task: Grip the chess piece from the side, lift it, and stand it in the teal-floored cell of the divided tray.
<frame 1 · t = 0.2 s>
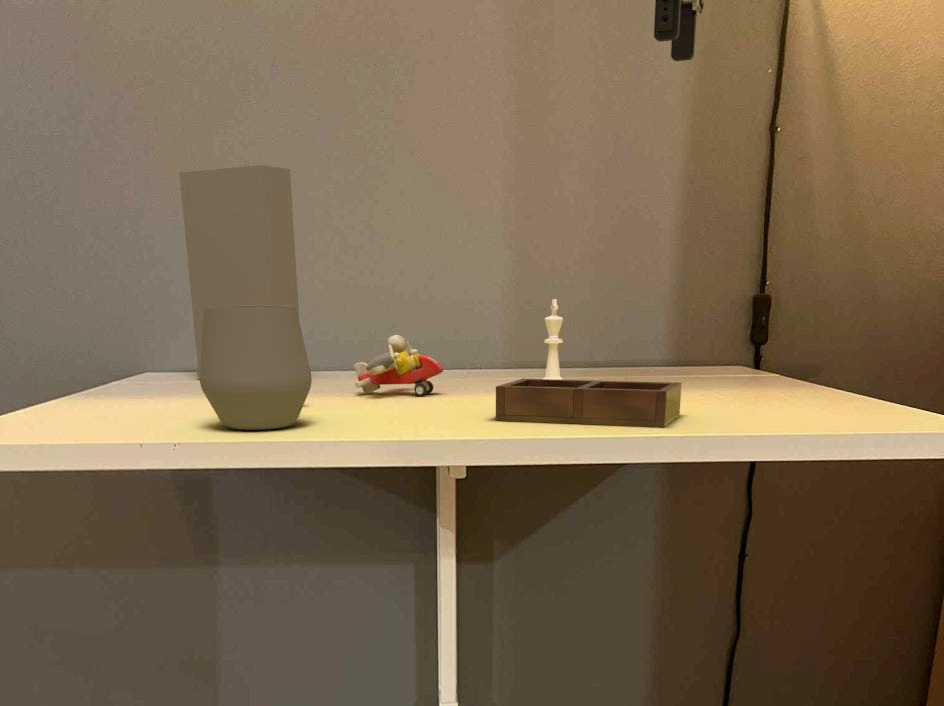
hand: (674, 50, 95), 33 cm above the table, tool pointing down, fingers open, 8 cm apart
chess piece: (552, 395, 110), on the table
cup: (259, 428, 86), on the table
toy airplane: (393, 396, 111), on the table
khaki block: (252, 380, 130), on the table
divided tray: (588, 418, 90), on the table
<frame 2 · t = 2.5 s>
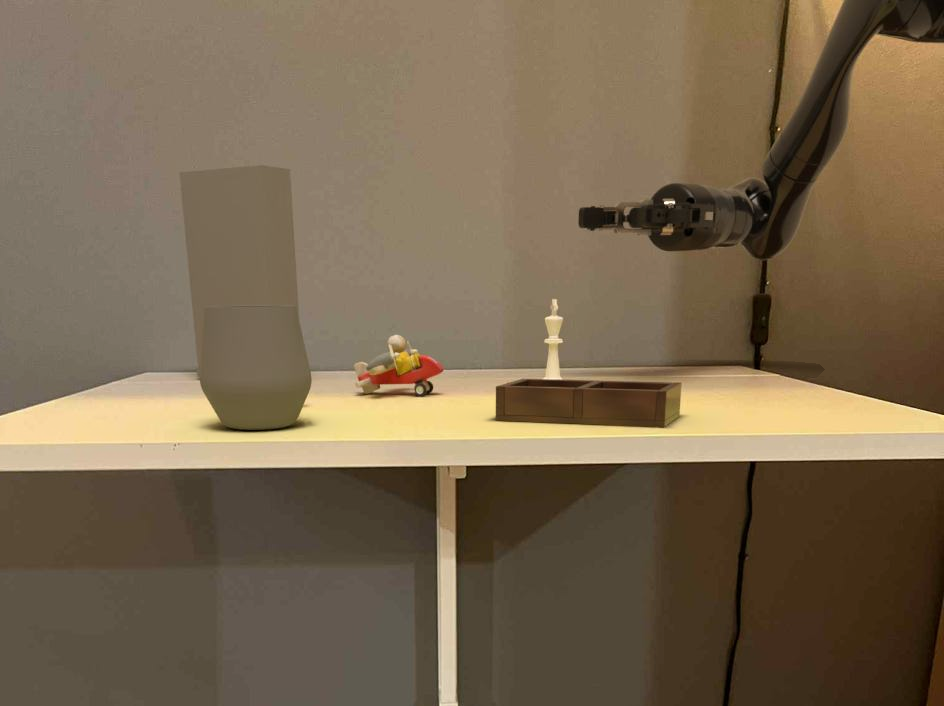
hand: (611, 216, 109), 19 cm above the table, tool horizontal, fingers open, 8 cm apart
nothing on the table moved.
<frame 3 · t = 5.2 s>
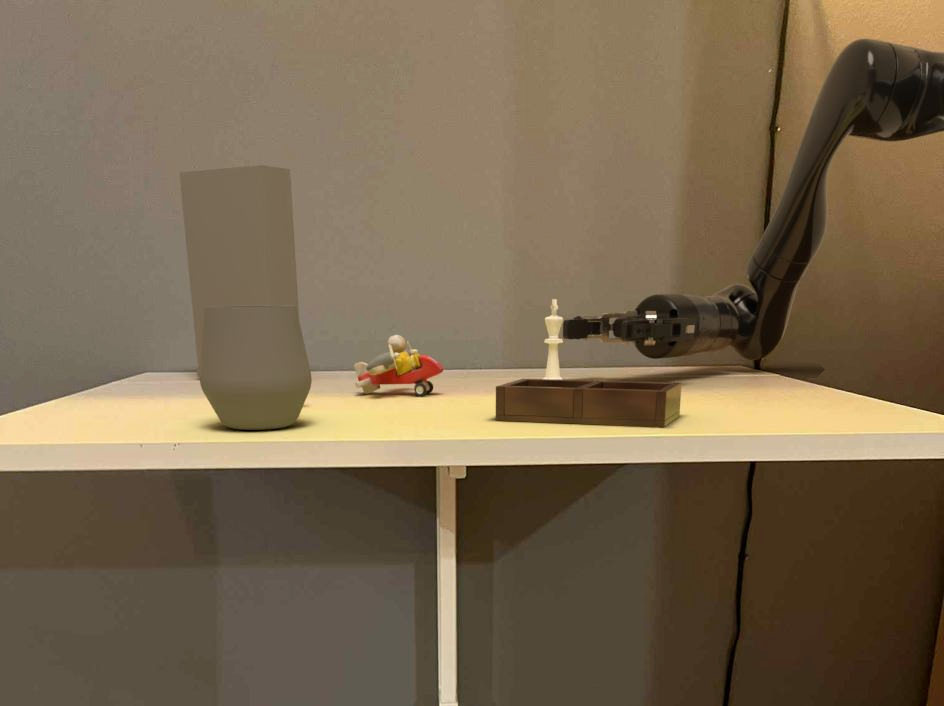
hand: (593, 330, 112), 7 cm above the table, tool horizontal, fingers open, 8 cm apart
nothing on the table moved.
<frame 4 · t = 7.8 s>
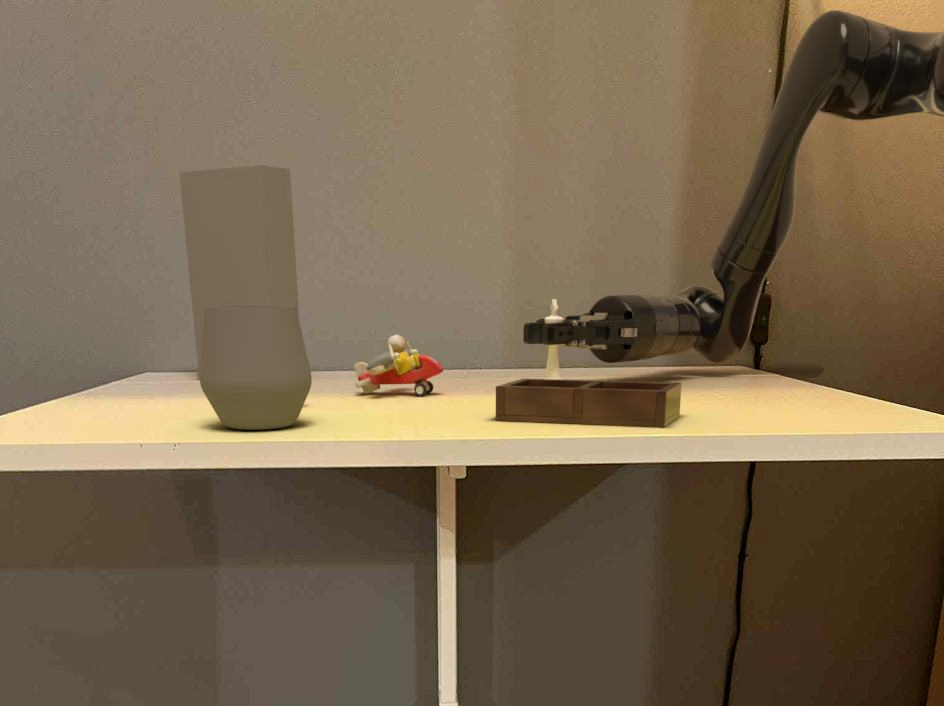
hand: (535, 334, 106), 7 cm above the table, tool horizontal, fingers closed on chess piece
chess piece: (552, 395, 110), on the table, touching gripper
everything else where it was.
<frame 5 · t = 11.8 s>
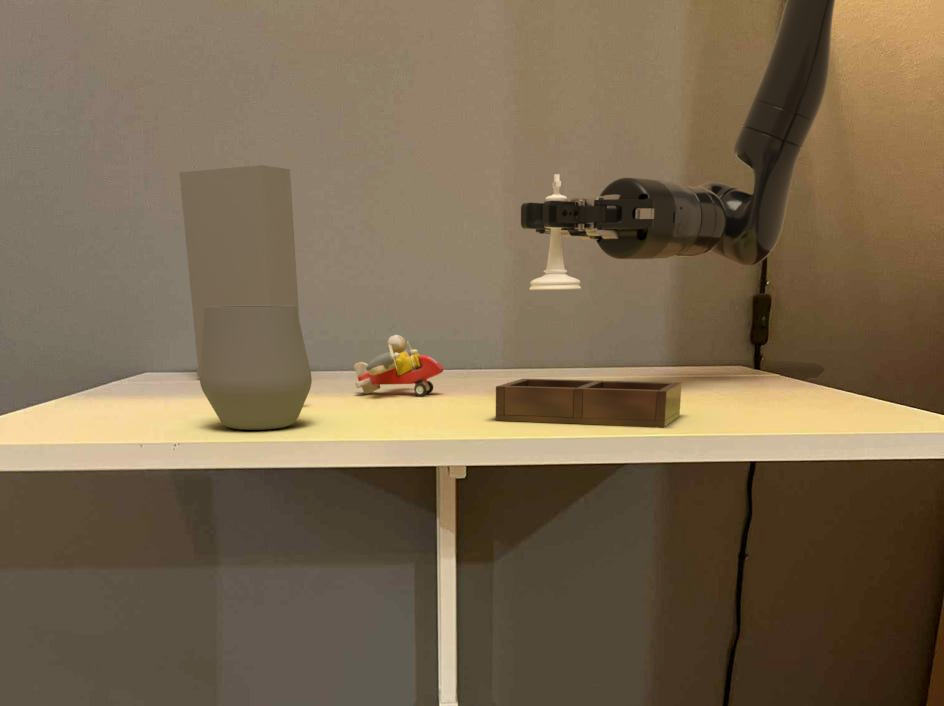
hand: (535, 214, 90), 18 cm above the table, tool horizontal, fingers closed on chess piece
chess piece: (555, 291, 94), point 11 cm above the table, touching gripper
everything else where it was.
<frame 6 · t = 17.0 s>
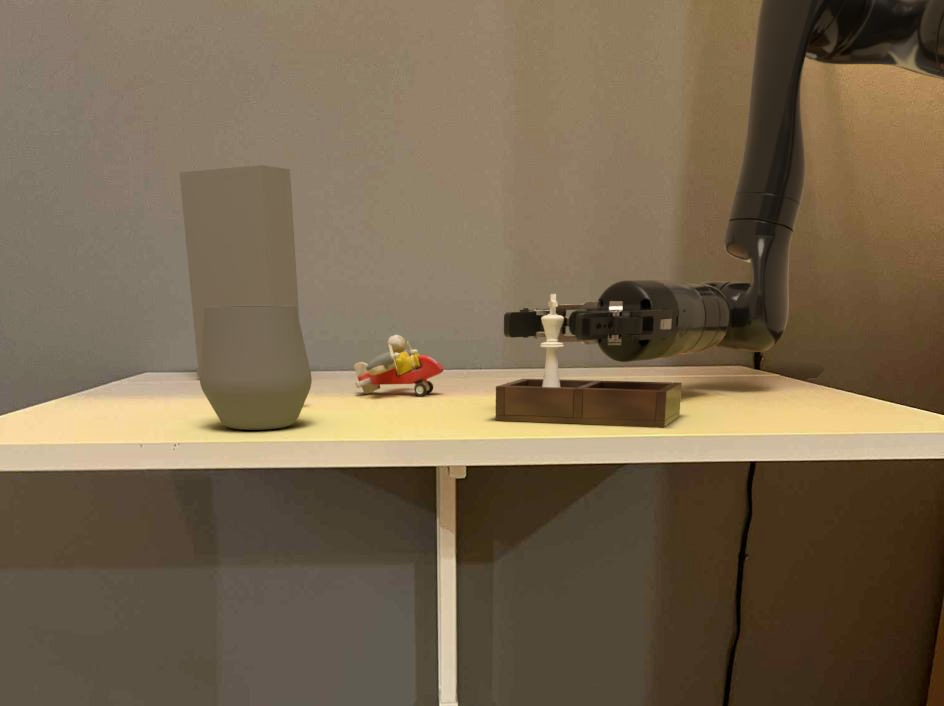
hand: (541, 326, 87), 8 cm above the table, tool horizontal, fingers open, 8 cm apart
chess piece: (550, 410, 91), point 1 cm above the table, touching divided tray
everything else where it was.
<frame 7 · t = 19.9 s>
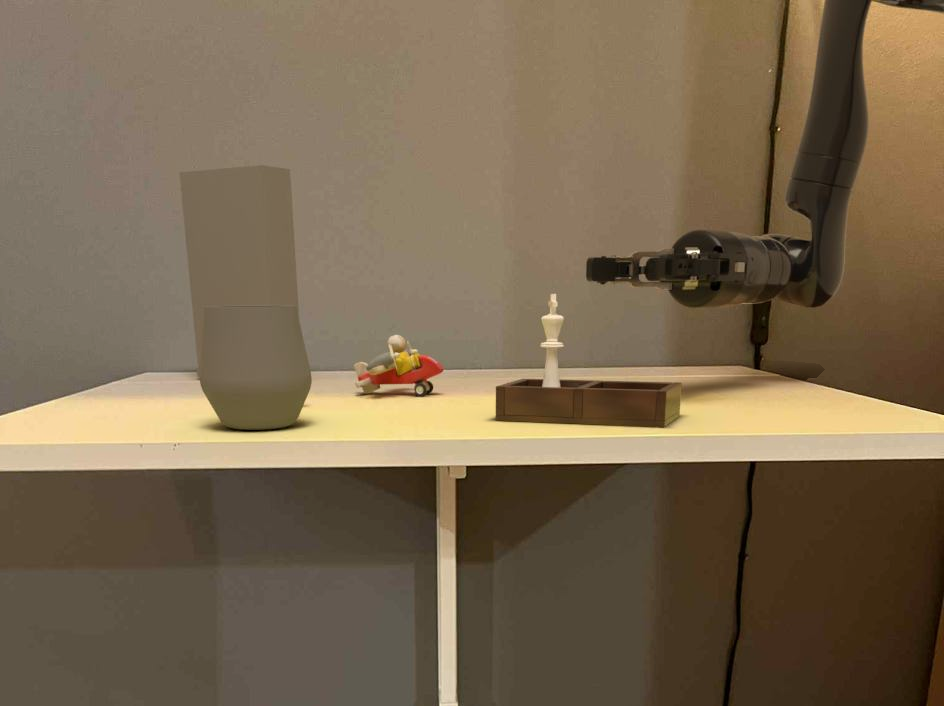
hand: (624, 268, 93), 13 cm above the table, tool horizontal, fingers open, 8 cm apart
nothing on the table moved.
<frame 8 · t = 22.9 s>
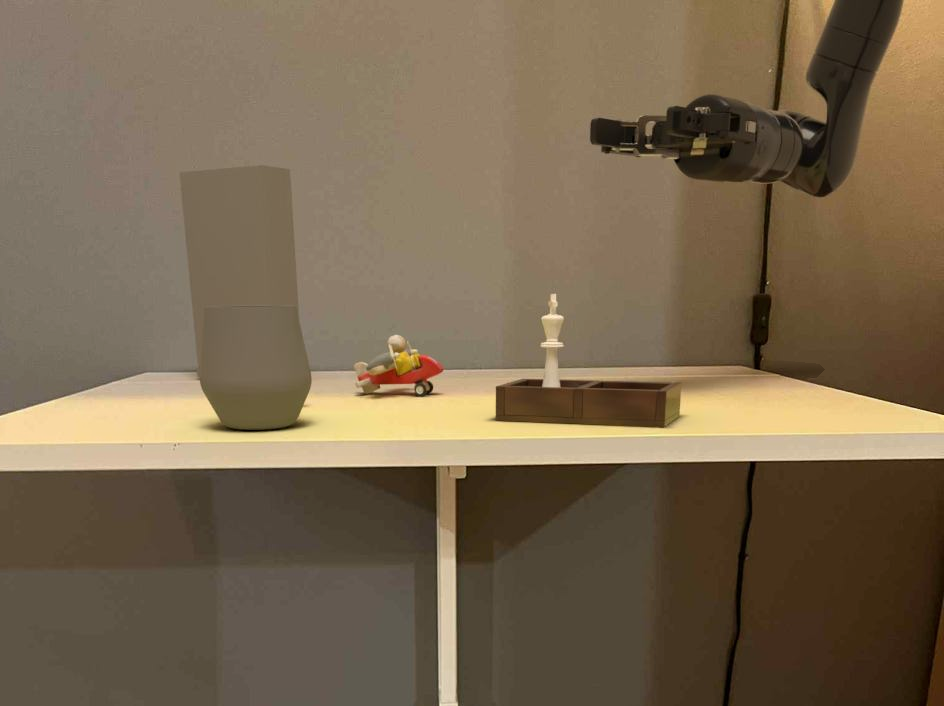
hand: (630, 125, 89), 25 cm above the table, tool horizontal, fingers open, 8 cm apart
nothing on the table moved.
at the end: chess piece 0.2 cm from the target spot in the divided tray, point 0.5 cm above the divided tray's base; chess piece tilted 0°; the gripper is holding nothing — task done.
